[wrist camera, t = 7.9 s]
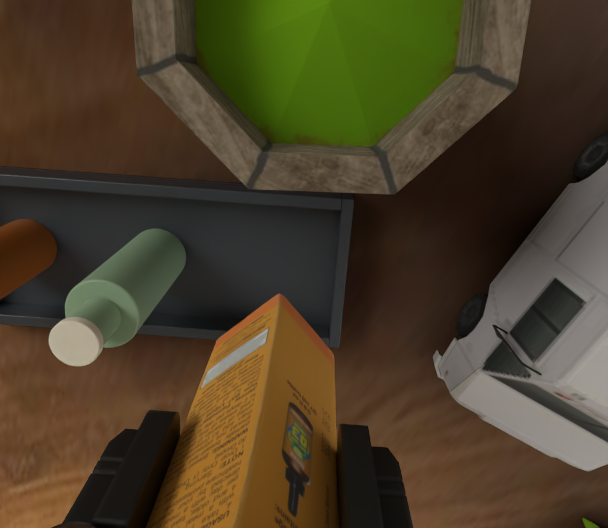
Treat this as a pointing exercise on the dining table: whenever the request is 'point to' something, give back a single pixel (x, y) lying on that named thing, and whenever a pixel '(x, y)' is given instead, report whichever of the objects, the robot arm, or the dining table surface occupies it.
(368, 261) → the dining table surface
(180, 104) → the mug
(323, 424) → the supplement box
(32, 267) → the amber bottle
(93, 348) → the sage bottle
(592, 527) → the fruit
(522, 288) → the toy truck
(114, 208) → the tray
